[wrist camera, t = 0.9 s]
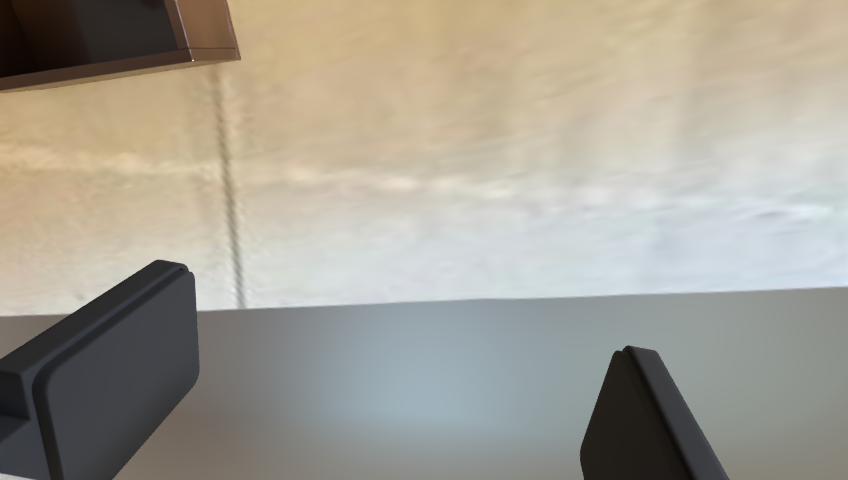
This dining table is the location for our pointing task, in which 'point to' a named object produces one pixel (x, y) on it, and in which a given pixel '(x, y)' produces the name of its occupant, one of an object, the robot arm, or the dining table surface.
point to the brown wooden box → (108, 39)
